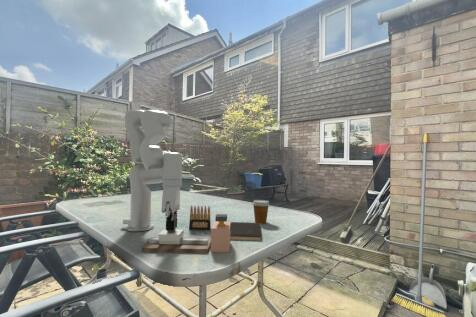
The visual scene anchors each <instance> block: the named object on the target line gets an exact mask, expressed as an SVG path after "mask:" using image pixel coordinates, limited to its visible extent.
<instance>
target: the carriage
mask: <svg viewBox="0 0 476 317" xmlns="http://www.w3.org/2000/svg"><path fill="white" fill-rule="evenodd" d="M170 215H171V216H172V214H170ZM157 238H158V241H159V244H180V239H181V238H184V229H180V228H179V229H178V228H177V227H176V214H174V230H173V231H166V228H164V229H162V230H161V231H160V232H159V233H158V237H157Z"/></svg>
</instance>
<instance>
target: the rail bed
mask: <svg viewBox="0 0 476 317" xmlns="http://www.w3.org/2000/svg"><path fill="white" fill-rule="evenodd" d="M158 238H159V237H150V239H149V241H148V242H146V243H145V244H144V245H143V246H142V247H141V253H185V254H186V253H190V254H192V253H193V254H194V253H195V254H208V253H209V251H210V249H211V237H209V238H205V237H204V238H202V237H183V238H181V239H180V244H159V241H158Z"/></svg>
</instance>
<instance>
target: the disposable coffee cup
mask: <svg viewBox="0 0 476 317" xmlns="http://www.w3.org/2000/svg"><path fill="white" fill-rule="evenodd" d="M252 206H253V214H254V223H263V224H266V223H267V220H268V212H269V206H270V201H269V200H266V199H254V200H253V202H252Z"/></svg>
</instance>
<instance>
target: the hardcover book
mask: <svg viewBox="0 0 476 317" xmlns="http://www.w3.org/2000/svg"><path fill="white" fill-rule="evenodd" d="M230 222H231V225H230V240H235V241H236V240H238V241H239V240H240V241H261V238H262V231H261V224H260V223H256V222H243V221H242V222H241V221H240V222H239V221H238V222H237V221H230Z"/></svg>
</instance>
